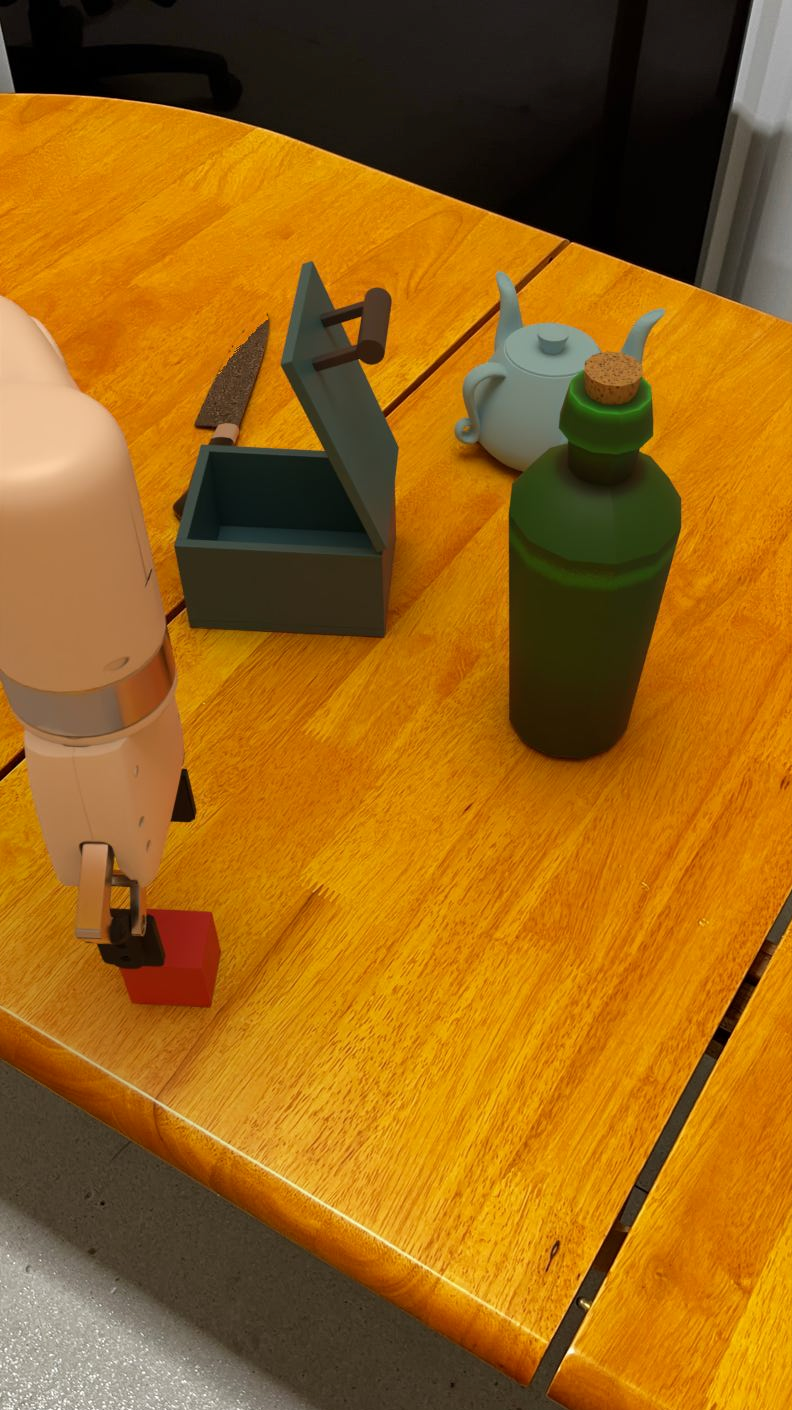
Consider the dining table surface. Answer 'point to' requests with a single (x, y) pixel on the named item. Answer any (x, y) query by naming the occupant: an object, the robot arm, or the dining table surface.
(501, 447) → the teapot
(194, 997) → the red block
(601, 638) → the bottle
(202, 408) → the knife
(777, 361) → the dining table surface
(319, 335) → the lid
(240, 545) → the cool box
